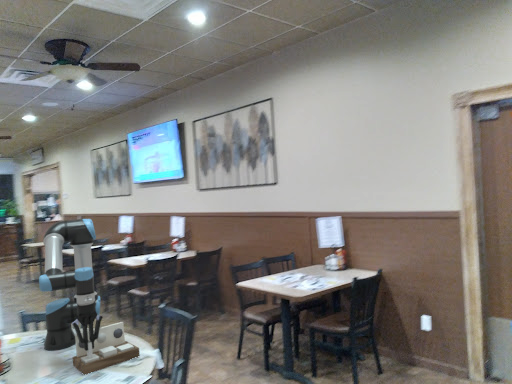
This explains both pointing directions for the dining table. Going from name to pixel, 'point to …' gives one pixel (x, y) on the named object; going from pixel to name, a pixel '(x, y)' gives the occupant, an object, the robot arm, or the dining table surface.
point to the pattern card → (103, 338)
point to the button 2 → (125, 347)
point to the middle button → (107, 351)
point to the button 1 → (89, 359)
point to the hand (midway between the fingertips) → (90, 356)
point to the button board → (105, 360)
